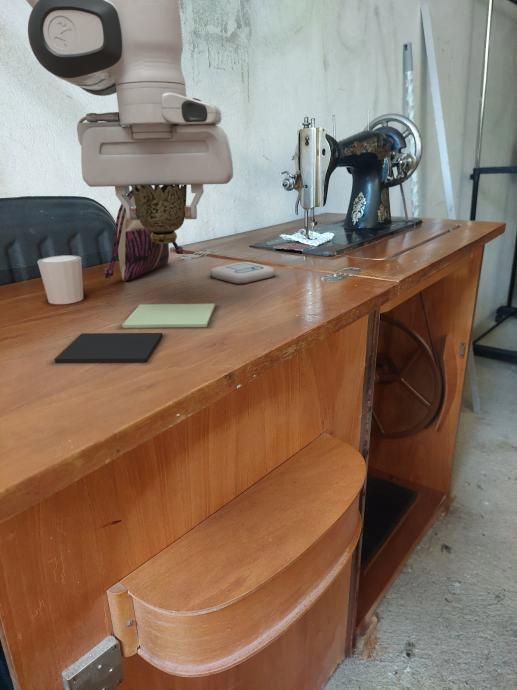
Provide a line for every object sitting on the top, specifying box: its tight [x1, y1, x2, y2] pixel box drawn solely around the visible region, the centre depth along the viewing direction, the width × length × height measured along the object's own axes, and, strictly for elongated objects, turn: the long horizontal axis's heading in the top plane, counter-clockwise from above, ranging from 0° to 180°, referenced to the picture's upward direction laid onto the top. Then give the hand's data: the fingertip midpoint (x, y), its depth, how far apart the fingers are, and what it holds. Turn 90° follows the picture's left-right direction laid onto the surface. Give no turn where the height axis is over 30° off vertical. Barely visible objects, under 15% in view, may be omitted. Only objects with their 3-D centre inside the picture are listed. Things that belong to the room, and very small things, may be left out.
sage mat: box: [121, 303, 216, 329], centre depth 77 cm, size 12×10×1 cm
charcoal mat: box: [54, 332, 163, 364], centre depth 65 cm, size 11×9×1 cm
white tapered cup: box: [37, 254, 84, 305], centre depth 86 cm, size 7×7×7 cm
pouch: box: [103, 186, 184, 282], centre depth 102 cm, size 25×8×19 cm, turn 162°
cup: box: [131, 185, 188, 244], centre depth 72 cm, size 8×7×8 cm
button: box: [210, 261, 276, 285], centre depth 100 cm, size 10×2×10 cm
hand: (162, 219), depth 72 cm, fingers closed on cup, 7 cm apart
